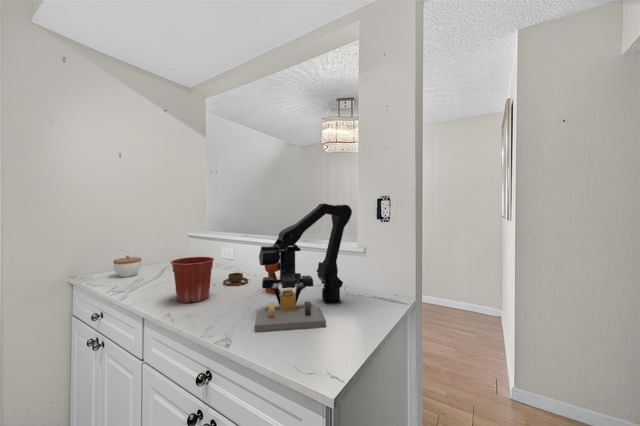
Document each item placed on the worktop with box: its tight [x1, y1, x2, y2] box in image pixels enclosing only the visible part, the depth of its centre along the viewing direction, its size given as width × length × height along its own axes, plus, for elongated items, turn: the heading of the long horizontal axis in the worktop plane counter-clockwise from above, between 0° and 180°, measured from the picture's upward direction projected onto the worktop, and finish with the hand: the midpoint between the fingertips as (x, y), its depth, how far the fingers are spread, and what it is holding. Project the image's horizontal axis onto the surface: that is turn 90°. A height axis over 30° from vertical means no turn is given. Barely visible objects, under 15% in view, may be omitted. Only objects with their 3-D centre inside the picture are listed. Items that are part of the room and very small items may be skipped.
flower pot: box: [170, 256, 215, 304], centre depth 115 cm, size 16×16×16 cm
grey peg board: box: [254, 301, 327, 333], centre depth 92 cm, size 22×12×6 cm, turn 100°
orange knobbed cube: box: [279, 289, 297, 310], centre depth 105 cm, size 6×6×6 cm
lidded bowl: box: [112, 255, 142, 278], centre depth 153 cm, size 13×13×11 cm
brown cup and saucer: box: [213, 272, 250, 287], centre depth 141 cm, size 18×20×6 cm
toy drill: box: [264, 261, 281, 295], centre depth 121 cm, size 5×19×15 cm, turn 45°
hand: (287, 304), depth 105 cm, fingers closed on orange knobbed cube, 6 cm apart
